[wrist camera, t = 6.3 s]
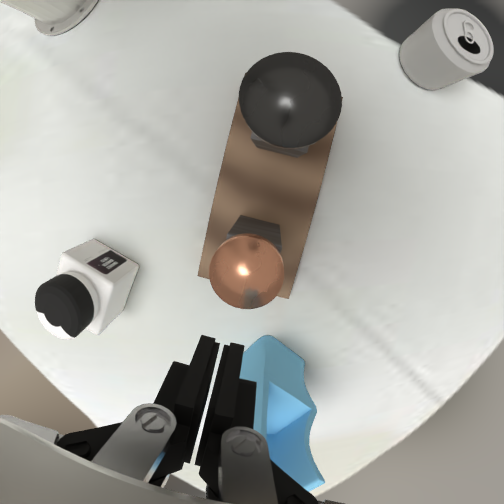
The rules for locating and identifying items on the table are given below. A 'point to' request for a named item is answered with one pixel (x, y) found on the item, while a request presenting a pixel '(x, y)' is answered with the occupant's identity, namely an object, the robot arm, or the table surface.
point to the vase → (283, 408)
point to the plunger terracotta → (247, 271)
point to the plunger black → (290, 100)
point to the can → (446, 49)
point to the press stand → (266, 195)
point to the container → (85, 290)
